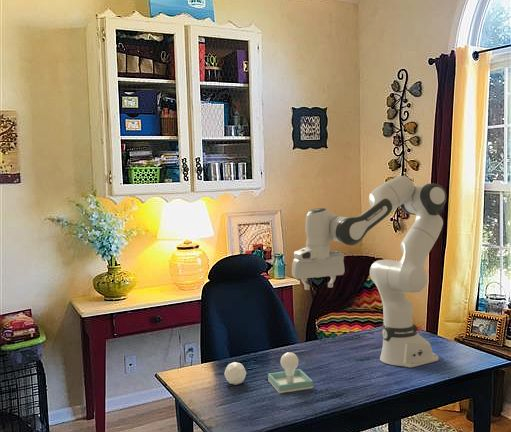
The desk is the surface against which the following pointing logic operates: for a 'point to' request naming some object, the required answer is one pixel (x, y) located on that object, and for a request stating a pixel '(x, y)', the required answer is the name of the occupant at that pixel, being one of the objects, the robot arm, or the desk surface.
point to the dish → (282, 386)
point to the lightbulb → (289, 365)
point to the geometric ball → (235, 373)
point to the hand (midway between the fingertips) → (318, 288)
